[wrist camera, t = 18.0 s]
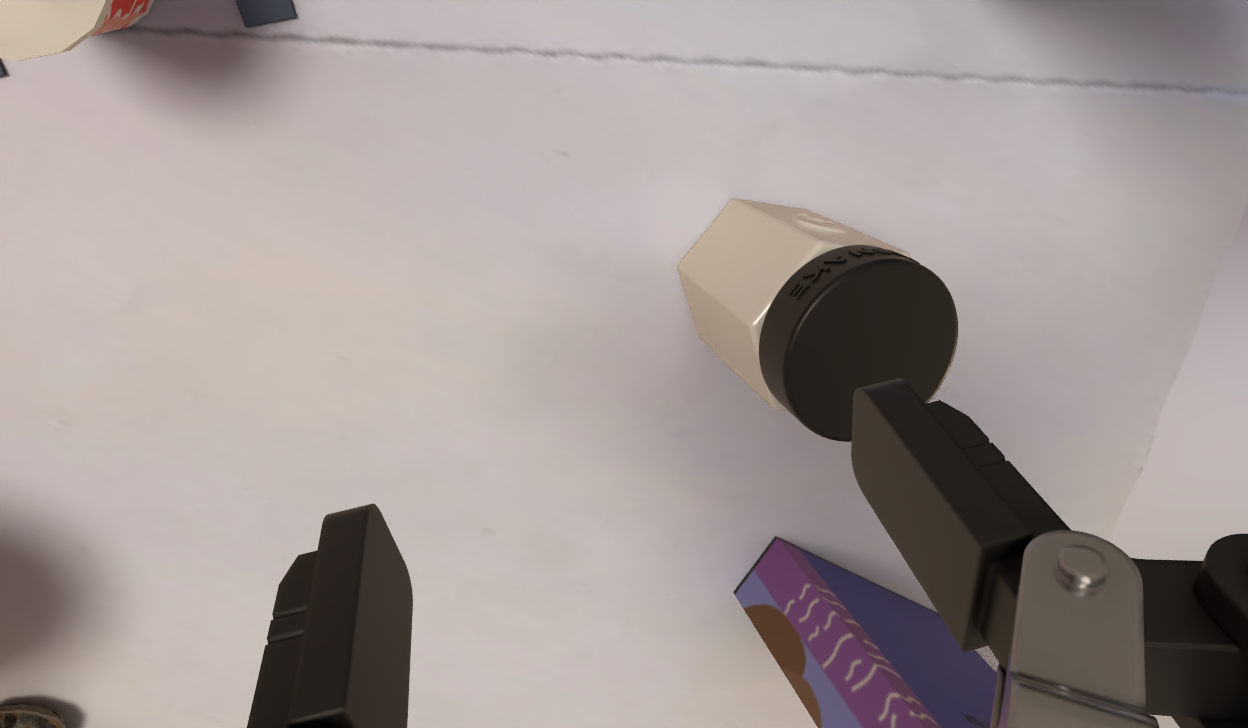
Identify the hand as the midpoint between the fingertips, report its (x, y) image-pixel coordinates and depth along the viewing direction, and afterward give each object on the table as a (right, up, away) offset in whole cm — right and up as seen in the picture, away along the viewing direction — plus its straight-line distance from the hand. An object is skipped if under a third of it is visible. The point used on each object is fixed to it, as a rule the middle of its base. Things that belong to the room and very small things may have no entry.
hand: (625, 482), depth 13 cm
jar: (+7, +7, +30) cm, 31 cm away
